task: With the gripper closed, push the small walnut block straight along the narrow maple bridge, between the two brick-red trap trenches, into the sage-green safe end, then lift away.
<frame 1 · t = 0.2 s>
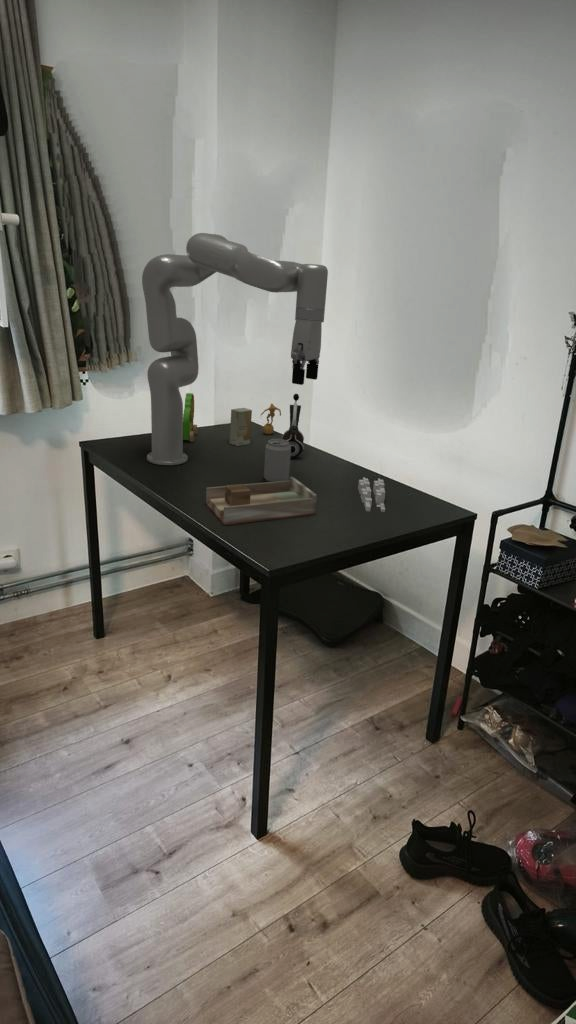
hand: (304, 381, 170), 31 cm above the table, tool pointing down, fingers open, 9 cm apart
can: (276, 480, 188), on the table
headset: (291, 454, 214), on the table
walnut block: (237, 502, 162), point 2 cm above the table, touching trap box
modular blocks: (372, 501, 178), on the table
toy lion: (188, 437, 224), on the table
figurine: (269, 435, 234), on the table
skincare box: (240, 444, 221), on the table
trap box: (260, 509, 166), on the table
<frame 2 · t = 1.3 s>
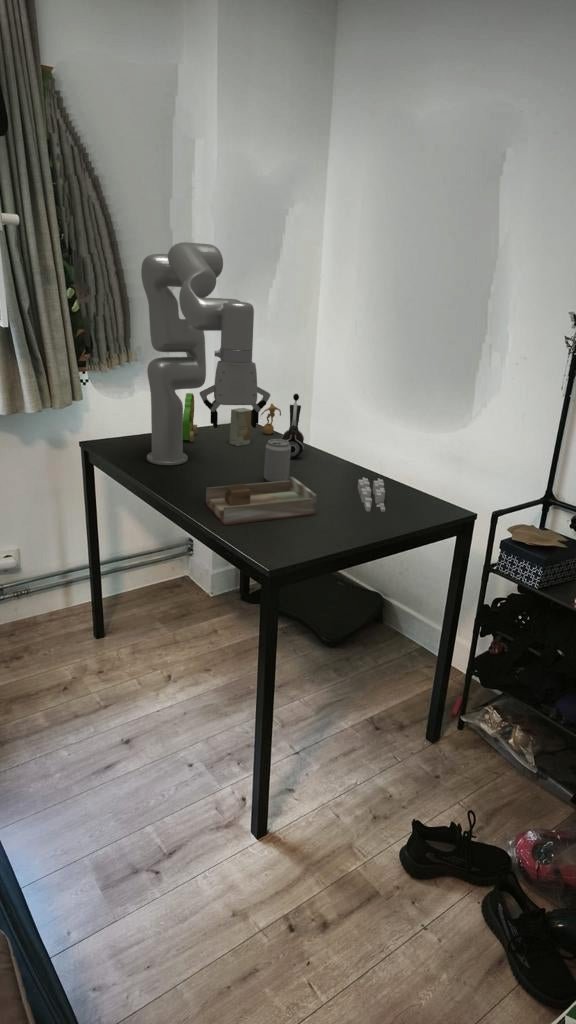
hand: (234, 426, 157), 22 cm above the table, tool pointing down, fingers open, 9 cm apart
nothing on the table moved.
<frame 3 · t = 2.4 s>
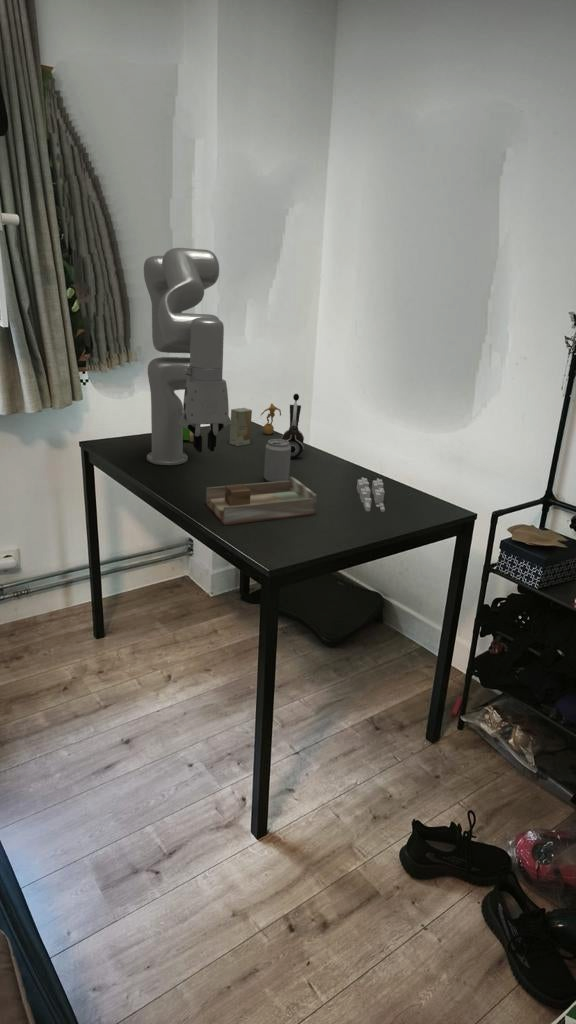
hand: (204, 449, 153), 17 cm above the table, tool pointing down, fingers closed
nothing on the table moved.
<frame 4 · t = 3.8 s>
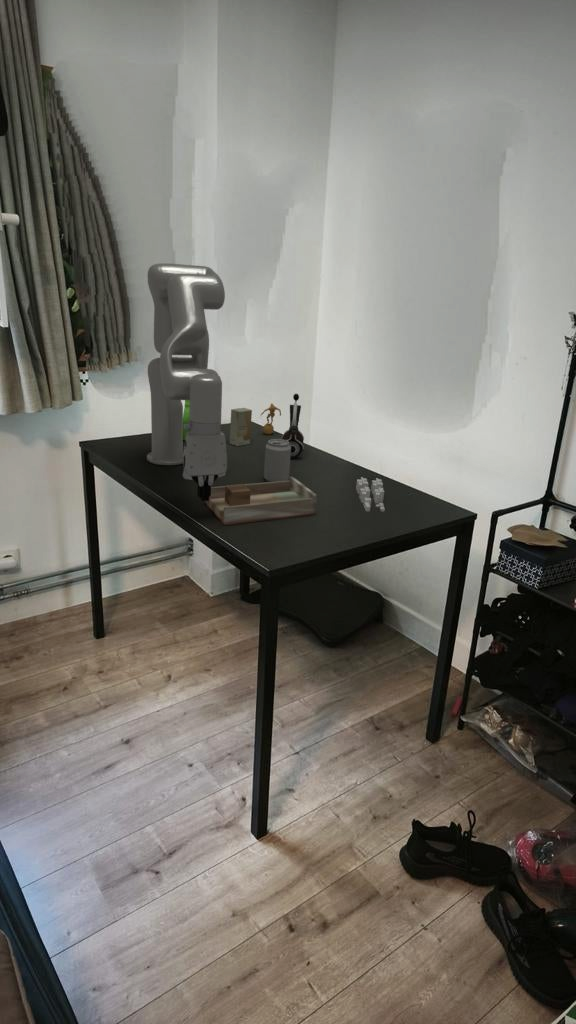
hand: (204, 499, 157), 4 cm above the table, tool pointing down, fingers closed
nothing on the table moved.
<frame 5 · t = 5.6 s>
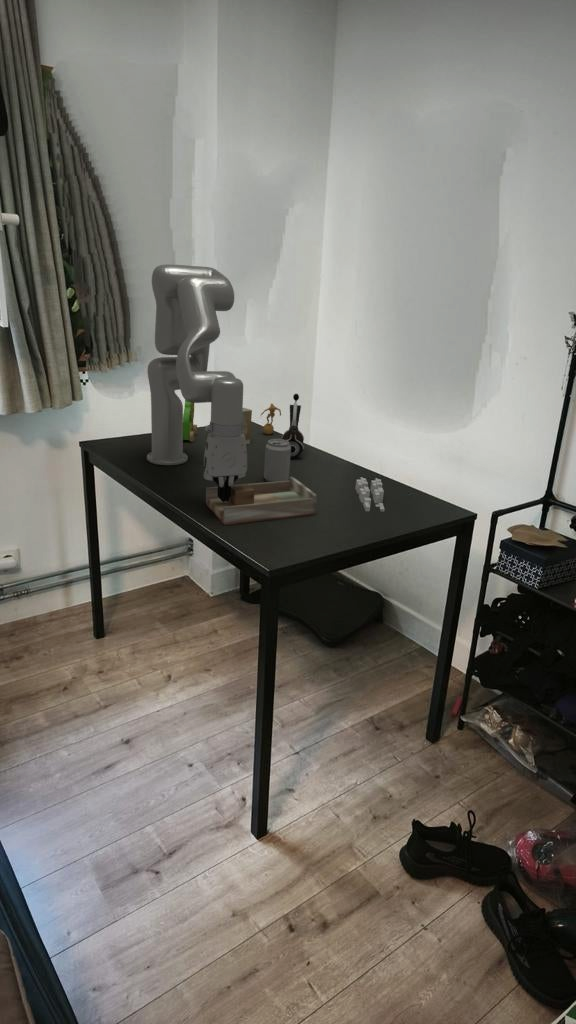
hand: (223, 499, 160), 4 cm above the table, tool pointing down, fingers closed
walnut block: (241, 502, 162), point 3 cm above the table
everything else where it was.
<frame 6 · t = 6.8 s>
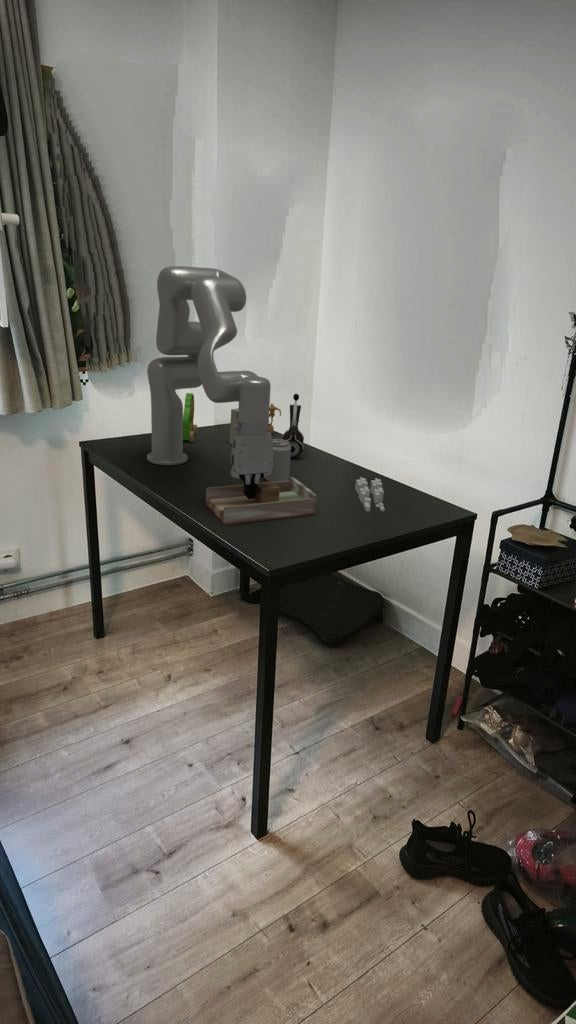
hand: (249, 497, 163), 4 cm above the table, tool pointing down, fingers closed
walnut block: (266, 499, 165), point 3 cm above the table
everything else where it was.
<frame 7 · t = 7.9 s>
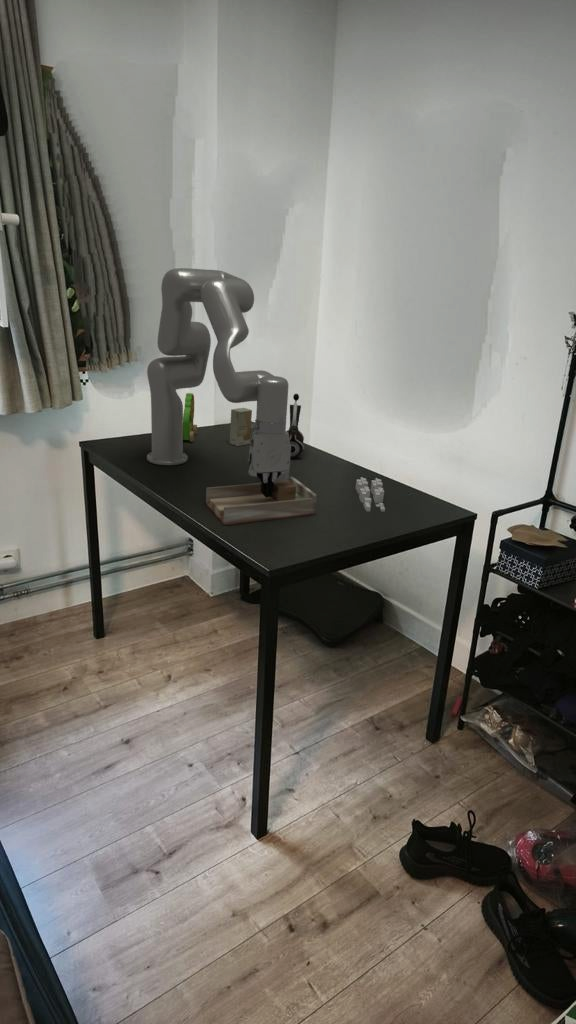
hand: (266, 495, 165), 4 cm above the table, tool pointing down, fingers closed
walnut block: (282, 498, 167), point 3 cm above the table, touching gripper
everything else where it was.
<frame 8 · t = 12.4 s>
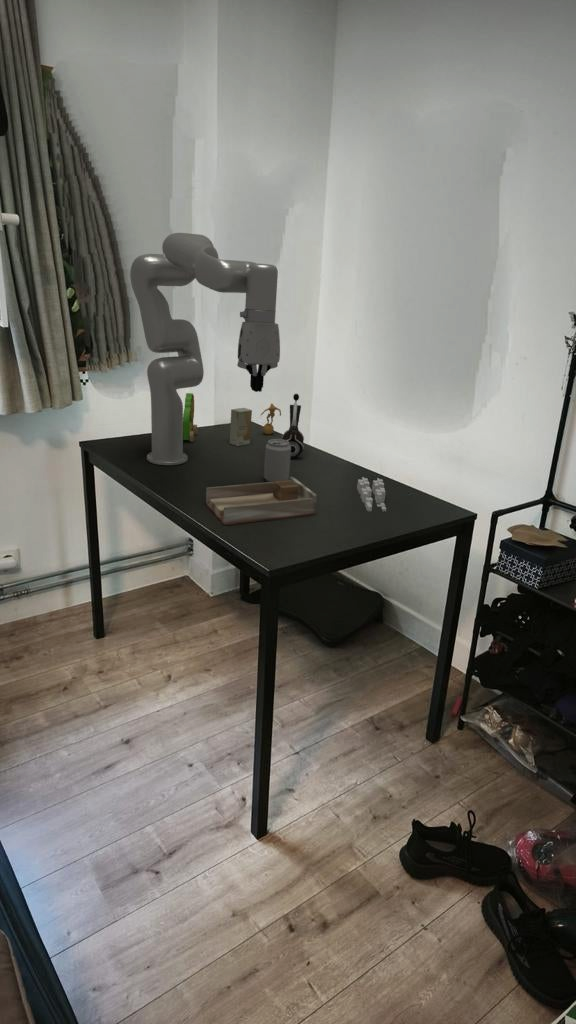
hand: (256, 390, 164), 29 cm above the table, tool pointing down, fingers closed
walnut block: (285, 498, 168), point 2 cm above the table, touching trap box
everything else where it was.
at the end: walnut block 0.6 cm from the target spot on the trap box, point 2.5 cm above the trap box's base; walnut block tilted 0°; walnut block moved 13.5 cm from its start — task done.
